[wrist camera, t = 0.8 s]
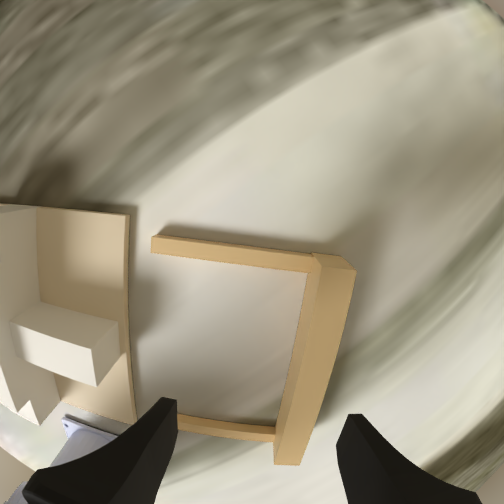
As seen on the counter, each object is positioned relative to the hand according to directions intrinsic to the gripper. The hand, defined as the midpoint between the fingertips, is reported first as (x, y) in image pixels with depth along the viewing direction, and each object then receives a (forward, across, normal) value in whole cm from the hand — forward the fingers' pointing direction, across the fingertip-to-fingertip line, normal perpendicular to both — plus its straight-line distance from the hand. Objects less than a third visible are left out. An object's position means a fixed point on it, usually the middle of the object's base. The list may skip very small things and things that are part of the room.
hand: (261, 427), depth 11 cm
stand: (+9, +17, +2) cm, 20 cm away
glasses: (+10, +2, +2) cm, 10 cm away
